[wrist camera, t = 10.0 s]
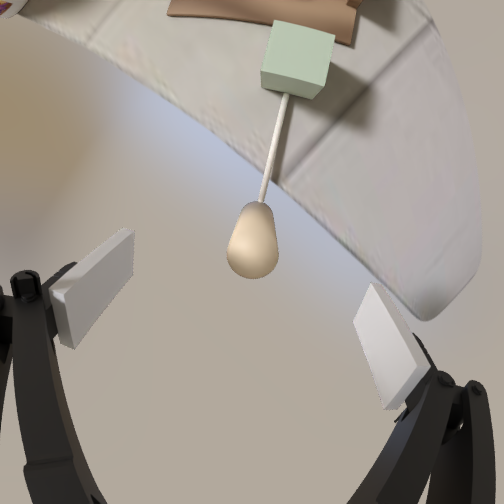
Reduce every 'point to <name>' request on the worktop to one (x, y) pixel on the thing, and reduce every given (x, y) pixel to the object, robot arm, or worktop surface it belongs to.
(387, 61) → the worktop surface
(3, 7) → the milk bottle
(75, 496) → the robot arm
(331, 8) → the lane shelf
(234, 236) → the green headed mallet
